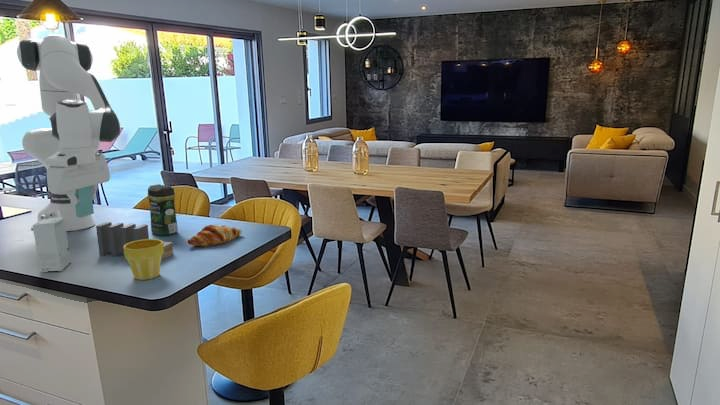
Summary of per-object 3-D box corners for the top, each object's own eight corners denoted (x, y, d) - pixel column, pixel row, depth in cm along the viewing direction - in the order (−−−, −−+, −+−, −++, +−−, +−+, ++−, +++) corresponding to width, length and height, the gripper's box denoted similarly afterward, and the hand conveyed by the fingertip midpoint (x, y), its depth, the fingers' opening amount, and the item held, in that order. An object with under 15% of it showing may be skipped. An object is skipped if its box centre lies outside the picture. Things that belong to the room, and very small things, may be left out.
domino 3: (111, 256, 152) (108, 226, 150) (122, 251, 157) (119, 222, 155) (116, 256, 152) (112, 227, 150) (126, 251, 157) (123, 223, 155)
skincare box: (61, 271, 139) (54, 223, 136) (38, 273, 137) (31, 224, 134) (71, 262, 147) (65, 216, 144) (50, 263, 145) (43, 217, 142)
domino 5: (136, 258, 150) (133, 228, 148) (146, 253, 155) (143, 224, 153) (140, 258, 150) (137, 228, 148) (150, 253, 155) (147, 224, 153)
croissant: (237, 243, 178) (231, 223, 179) (251, 235, 172) (244, 215, 173) (185, 255, 163) (178, 233, 164) (198, 247, 156) (191, 225, 157)
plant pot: (135, 269, 141) (132, 238, 139) (171, 269, 141) (168, 238, 139) (120, 283, 131) (116, 249, 129) (158, 282, 131) (155, 249, 129)
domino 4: (123, 257, 151) (120, 227, 149) (134, 252, 156) (131, 223, 154) (128, 257, 151) (125, 227, 149) (138, 252, 156) (135, 223, 154)
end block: (147, 261, 148) (145, 249, 147) (162, 253, 156) (161, 241, 155) (158, 262, 147) (157, 249, 146) (173, 253, 155) (172, 242, 154)
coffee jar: (147, 233, 178) (143, 185, 174) (166, 228, 184) (162, 182, 180) (162, 237, 172) (157, 188, 168) (181, 232, 179) (177, 185, 175)
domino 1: (76, 217, 140) (72, 184, 138) (89, 212, 145) (85, 181, 142) (81, 217, 140) (77, 184, 137) (93, 213, 144) (90, 181, 142)
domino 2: (99, 255, 153) (96, 225, 151) (110, 250, 158) (107, 222, 156) (103, 255, 153) (100, 226, 151) (114, 251, 158) (111, 222, 155)
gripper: (95, 151, 148) (100, 193, 152) (39, 160, 129) (46, 209, 132) (112, 152, 147) (117, 195, 150) (59, 162, 128) (65, 211, 131)
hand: (83, 201), depth 141 cm, fingers closed on domino 1, 5 cm apart
